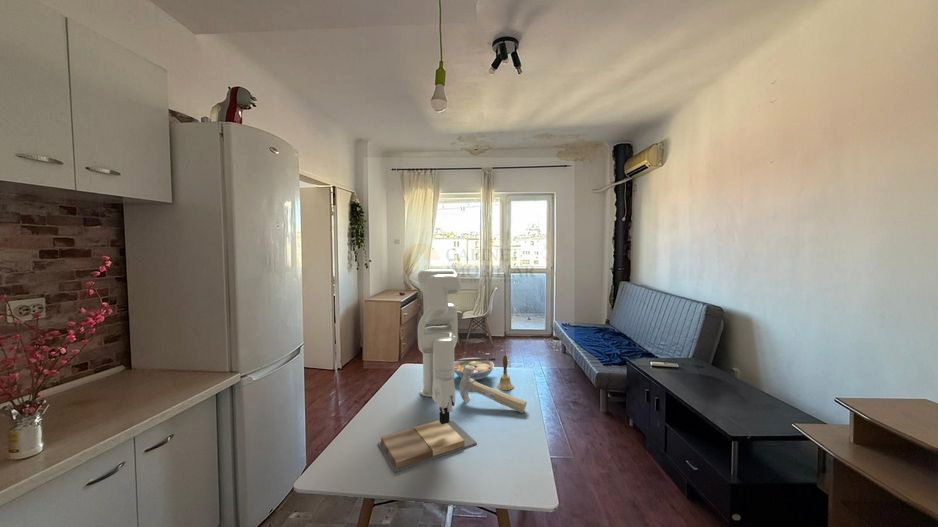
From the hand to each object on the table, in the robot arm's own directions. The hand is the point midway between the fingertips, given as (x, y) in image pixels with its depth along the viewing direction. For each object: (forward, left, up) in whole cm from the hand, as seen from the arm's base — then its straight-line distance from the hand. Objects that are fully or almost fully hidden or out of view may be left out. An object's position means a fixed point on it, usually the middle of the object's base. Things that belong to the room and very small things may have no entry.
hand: (444, 422), depth 125 cm
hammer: (-13, +30, -7) cm, 33 cm away
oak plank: (-1, -2, -6) cm, 6 cm away
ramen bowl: (-45, +39, -7) cm, 60 cm away
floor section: (-1, -6, -7) cm, 9 cm away
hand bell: (-27, +47, -7) cm, 54 cm away
